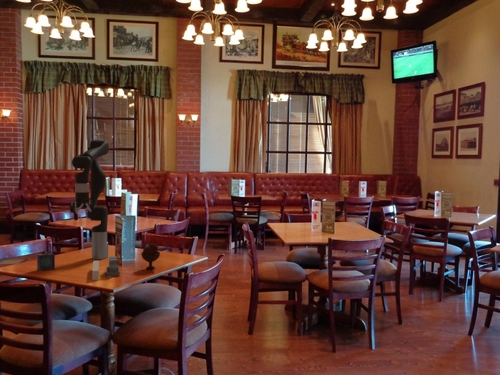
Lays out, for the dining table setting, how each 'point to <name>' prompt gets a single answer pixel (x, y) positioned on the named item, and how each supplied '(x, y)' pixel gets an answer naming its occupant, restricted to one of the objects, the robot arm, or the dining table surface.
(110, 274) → the cradle
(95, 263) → the door board
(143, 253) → the ice cream bowl
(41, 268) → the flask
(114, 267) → the block
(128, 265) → the dining table surface
